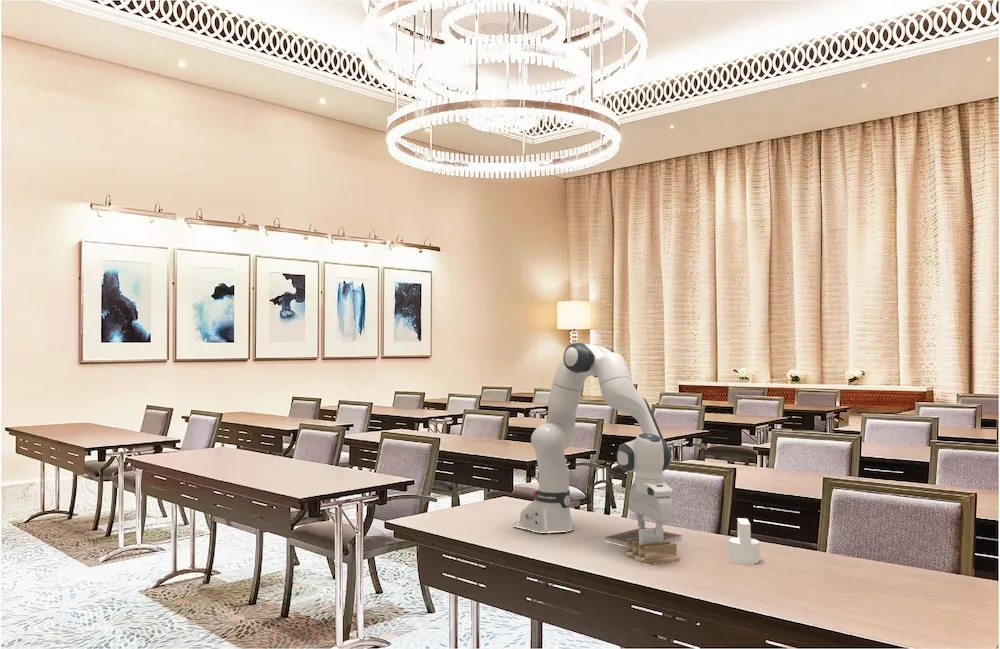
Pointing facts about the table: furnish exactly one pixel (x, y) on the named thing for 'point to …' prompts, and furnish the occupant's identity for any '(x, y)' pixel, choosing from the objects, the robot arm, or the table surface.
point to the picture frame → (623, 537)
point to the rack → (652, 551)
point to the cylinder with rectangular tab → (744, 544)
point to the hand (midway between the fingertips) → (649, 530)
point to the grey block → (649, 536)
